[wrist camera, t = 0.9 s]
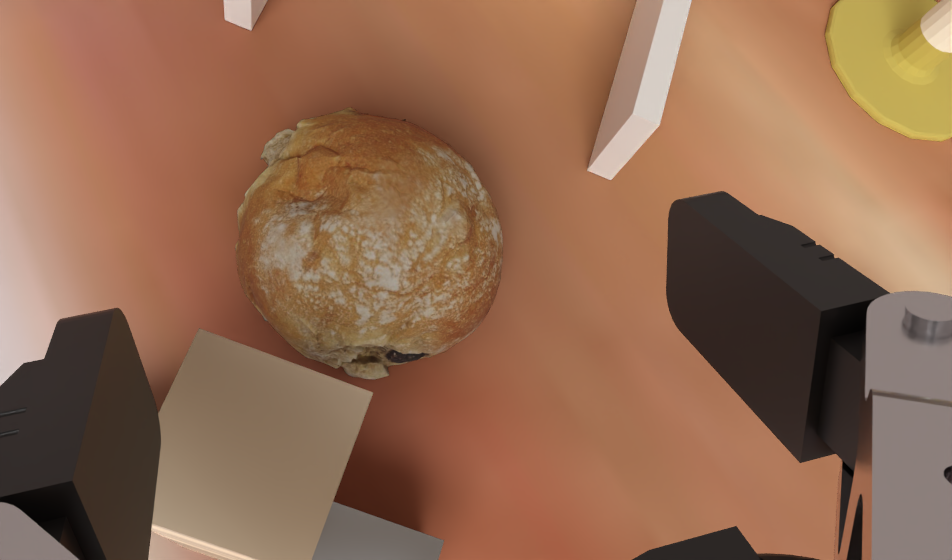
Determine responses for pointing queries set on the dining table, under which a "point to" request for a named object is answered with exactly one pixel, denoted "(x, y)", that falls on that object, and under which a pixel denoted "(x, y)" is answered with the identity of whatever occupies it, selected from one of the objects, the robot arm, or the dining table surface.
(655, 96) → the box
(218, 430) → the scraper
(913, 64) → the candle
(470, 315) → the bread roll
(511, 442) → the dining table surface
